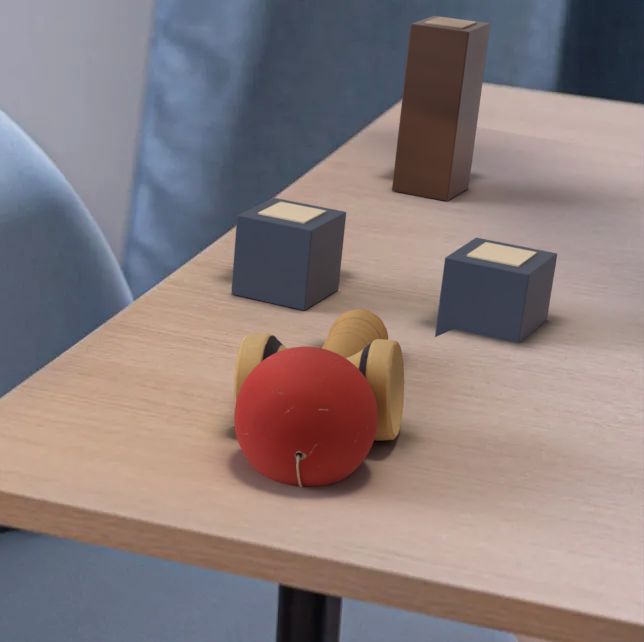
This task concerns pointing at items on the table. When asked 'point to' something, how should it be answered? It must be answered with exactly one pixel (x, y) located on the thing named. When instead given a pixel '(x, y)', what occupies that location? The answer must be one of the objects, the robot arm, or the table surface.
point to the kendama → (318, 400)
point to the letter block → (440, 107)
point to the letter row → (325, 263)
